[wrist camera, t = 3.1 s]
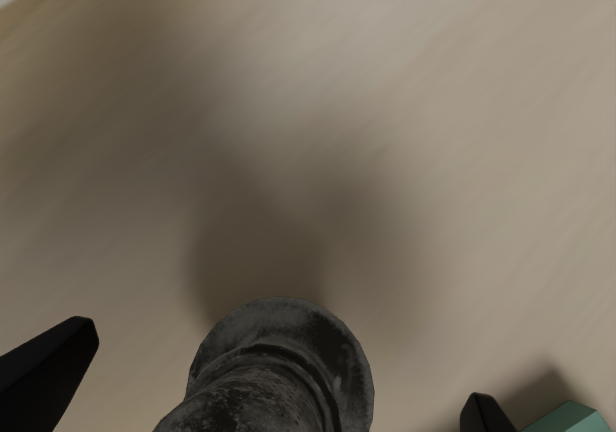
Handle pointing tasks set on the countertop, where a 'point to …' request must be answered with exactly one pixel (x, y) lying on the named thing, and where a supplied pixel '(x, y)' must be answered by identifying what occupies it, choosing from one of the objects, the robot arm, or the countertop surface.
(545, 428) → the socket board
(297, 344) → the weathered stone pawn
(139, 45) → the countertop surface
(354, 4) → the countertop surface
